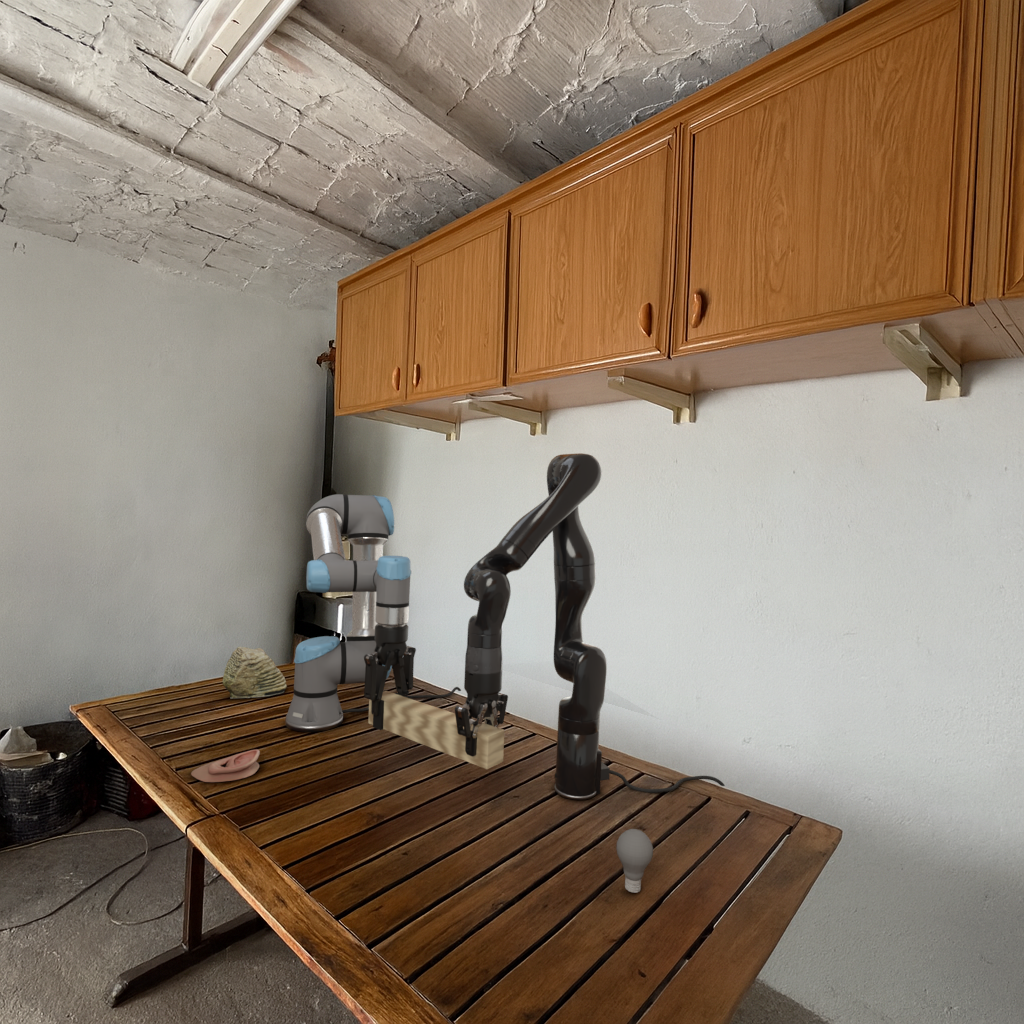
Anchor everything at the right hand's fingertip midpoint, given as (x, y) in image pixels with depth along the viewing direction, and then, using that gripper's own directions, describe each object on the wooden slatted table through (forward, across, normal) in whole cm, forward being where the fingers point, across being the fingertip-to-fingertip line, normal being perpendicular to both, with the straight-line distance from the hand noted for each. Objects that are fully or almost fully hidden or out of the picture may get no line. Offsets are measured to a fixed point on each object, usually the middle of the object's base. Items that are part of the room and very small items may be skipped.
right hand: (480, 750), depth 128 cm
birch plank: (+2, 0, -14) cm, 14 cm away
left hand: (+2, 0, -28) cm, 28 cm away
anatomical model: (+14, +24, -55) cm, 61 cm away
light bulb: (+14, 0, +35) cm, 38 cm away
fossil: (+14, -9, -102) cm, 103 cm away
